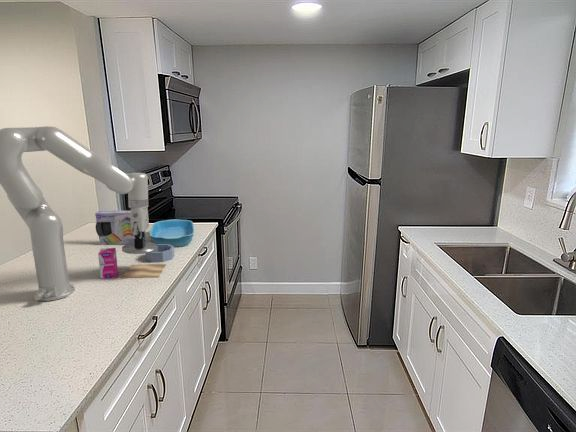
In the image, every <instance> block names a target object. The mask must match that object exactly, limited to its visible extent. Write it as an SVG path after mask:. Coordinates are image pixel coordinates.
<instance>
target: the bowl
mask: <svg viewBox="0 0 576 432" xmlns="http://www.w3.org/2000/svg"><path fill="white" fill-rule="evenodd" d="M157 245H158V249H157V250H155V251H153V252H150V253H144V254H145V260H146V261H147V262H149V263H165V262H168V261H172V260H173V259H174V257H175V247H174V246H172V245H169V244H157Z"/></svg>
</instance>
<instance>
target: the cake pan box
mask: <svg viewBox="0 0 576 432" xmlns="http://www.w3.org/2000/svg"><path fill="white" fill-rule="evenodd" d="M94 216H95V219H96V220H95V221H96V223H95V231H96V235H97V236H98V239H99V241H98V242H99V245H101V246H102V245H103V246H105V245H106V246H108V245H109V246H111V245H113V246H115V245H118V246H119V245H121V246H123V245H127V244H131V243H134V235H133V232H132V231H131V210H117V209H116V210H115V209H114V210H97V212H95V215H94Z"/></svg>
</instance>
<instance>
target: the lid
mask: <svg viewBox="0 0 576 432" xmlns="http://www.w3.org/2000/svg"><path fill="white" fill-rule="evenodd" d="M142 238H143V248H135V247H134V243H131V244H123V245H122V246H121V251H122V252H123V253H125V254H131V255H144V254H145V253H150V252H153V251H155V250H157V249H158V245H157V244H155V243H153V242H148V241H146V235H145V236H142ZM145 243H146V244H145Z"/></svg>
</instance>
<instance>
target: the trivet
mask: <svg viewBox="0 0 576 432" xmlns="http://www.w3.org/2000/svg"><path fill="white" fill-rule="evenodd" d="M166 266H167V263H159V264H158V263H154V264H151V263H150V264H149V263H148V264H131V265H130V267H129V268H128V269H127V270H126V271H125V272H124V273H123V275H122V276H121V277H120V279H121V280H122V279H148V278H149V279H152V278H153V279H157V278H160V276H161V274H162V273H163V271H164V269H165V267H166Z"/></svg>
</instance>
